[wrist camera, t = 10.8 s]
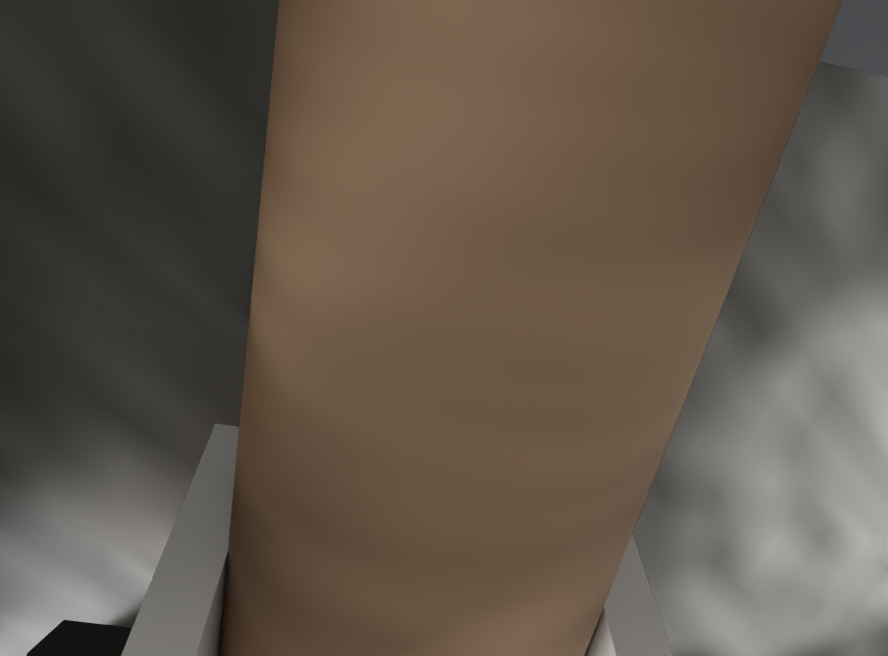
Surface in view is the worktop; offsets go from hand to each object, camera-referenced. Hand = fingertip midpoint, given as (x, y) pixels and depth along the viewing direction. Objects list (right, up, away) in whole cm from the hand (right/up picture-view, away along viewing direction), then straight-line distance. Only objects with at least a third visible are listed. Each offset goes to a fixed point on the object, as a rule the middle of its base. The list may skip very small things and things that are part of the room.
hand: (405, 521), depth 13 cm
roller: (-1, 0, 0) cm, 1 cm away
